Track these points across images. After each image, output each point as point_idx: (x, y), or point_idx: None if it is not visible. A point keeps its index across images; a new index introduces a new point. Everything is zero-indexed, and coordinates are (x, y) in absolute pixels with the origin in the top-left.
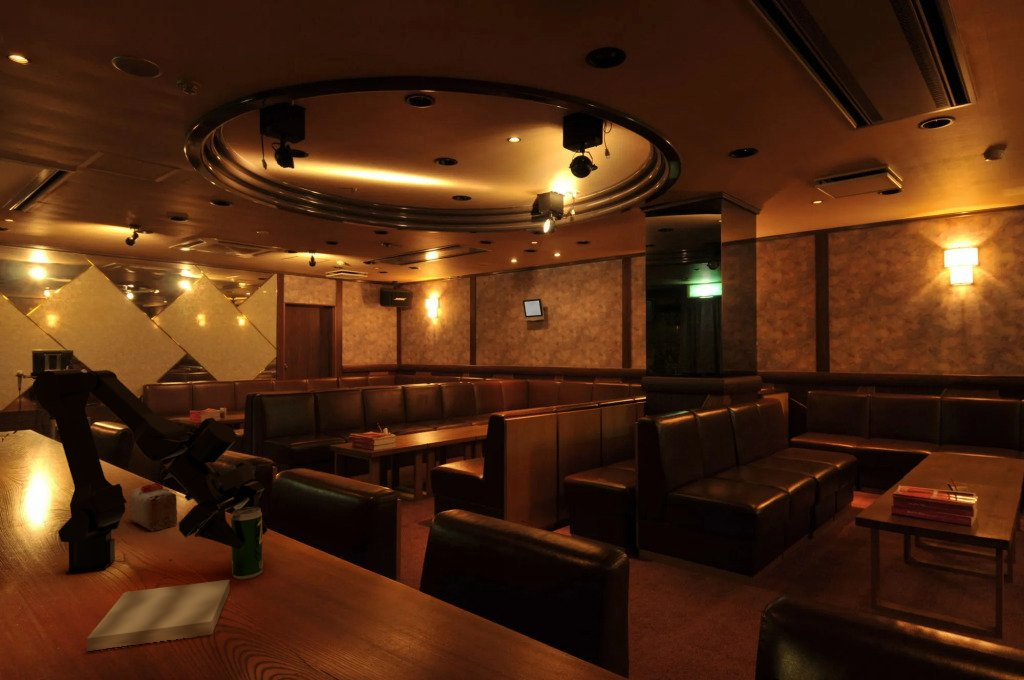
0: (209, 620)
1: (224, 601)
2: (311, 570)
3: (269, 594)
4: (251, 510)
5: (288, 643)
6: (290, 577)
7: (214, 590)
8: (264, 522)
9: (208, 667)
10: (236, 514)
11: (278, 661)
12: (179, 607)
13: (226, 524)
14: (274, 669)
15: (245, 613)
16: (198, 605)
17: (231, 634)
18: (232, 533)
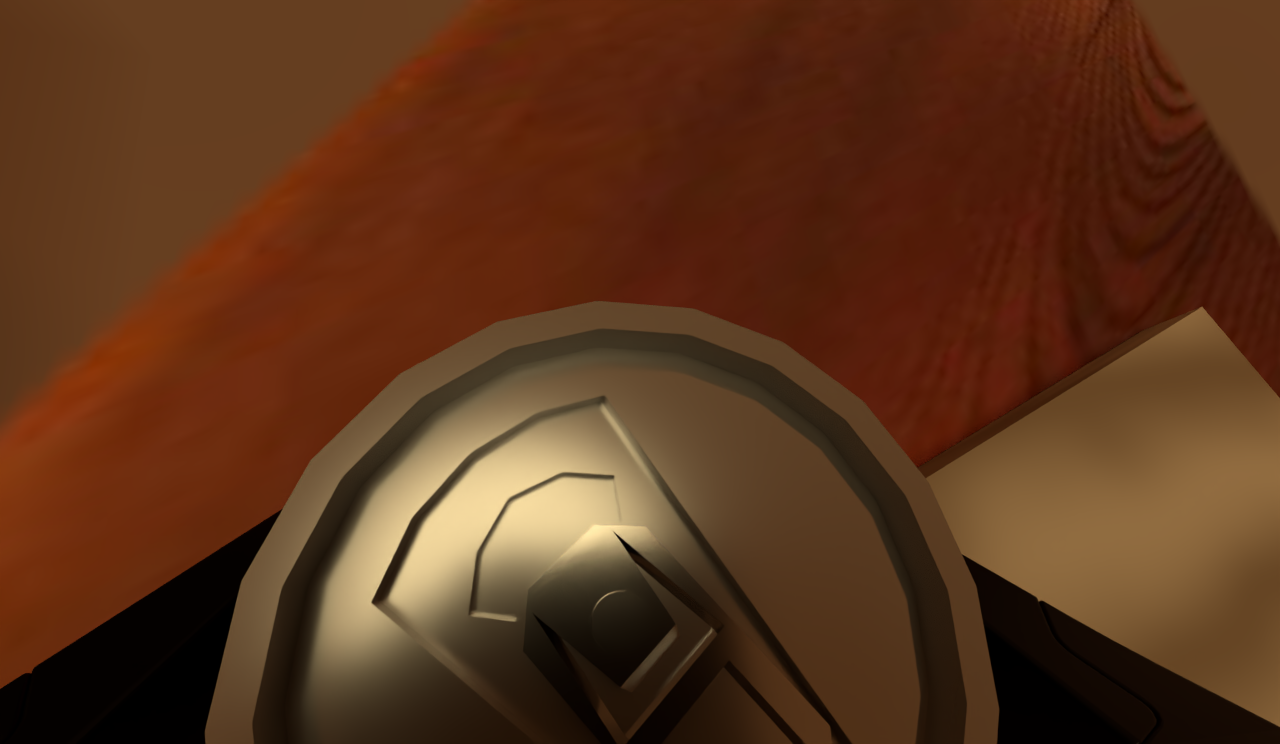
0: (1202, 319)
1: (947, 451)
2: (473, 228)
3: (791, 297)
4: (473, 603)
5: (1061, 78)
6: (582, 294)
7: (997, 509)
8: (208, 556)
9: (1255, 225)
10: (989, 704)
11: (1137, 70)
12: (1206, 557)
13: (1142, 702)
14: (1166, 65)
15: (972, 303)
16: (1146, 469)
17: (1106, 264)
18: (977, 571)
